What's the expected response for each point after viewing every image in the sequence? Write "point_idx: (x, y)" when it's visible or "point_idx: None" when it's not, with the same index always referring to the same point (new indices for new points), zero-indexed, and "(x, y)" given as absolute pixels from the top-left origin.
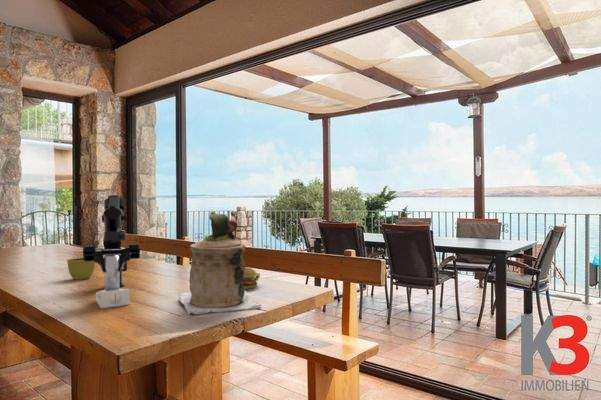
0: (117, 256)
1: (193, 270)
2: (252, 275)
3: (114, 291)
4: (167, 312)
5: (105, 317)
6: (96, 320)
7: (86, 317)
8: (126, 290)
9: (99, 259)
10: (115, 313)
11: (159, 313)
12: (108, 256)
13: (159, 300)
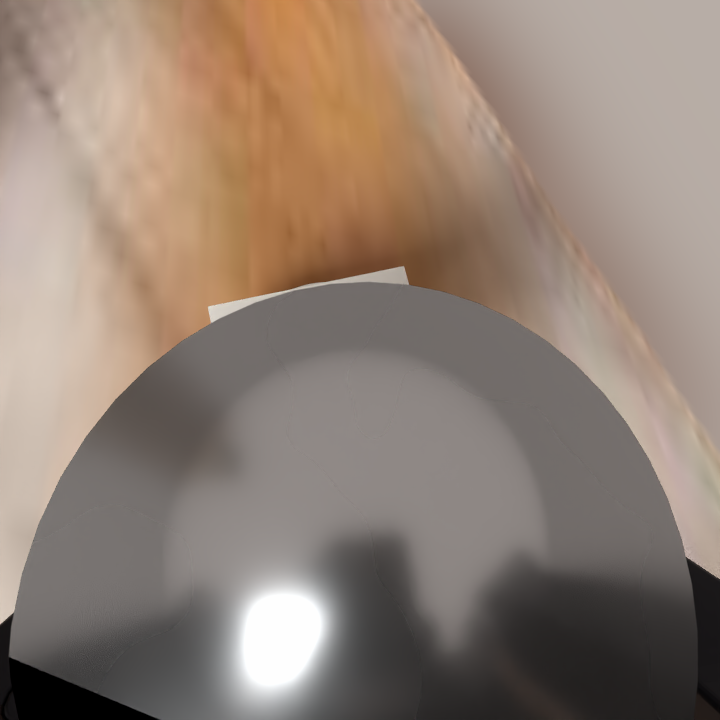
0: (135, 398)
1: None
2: None
3: (314, 285)
4: (64, 112)
5: (343, 132)
6: (374, 102)
7: (423, 161)
8: (232, 303)
9: (717, 578)
10: (305, 181)
11: (104, 109)
12: (491, 360)
13: (65, 380)
